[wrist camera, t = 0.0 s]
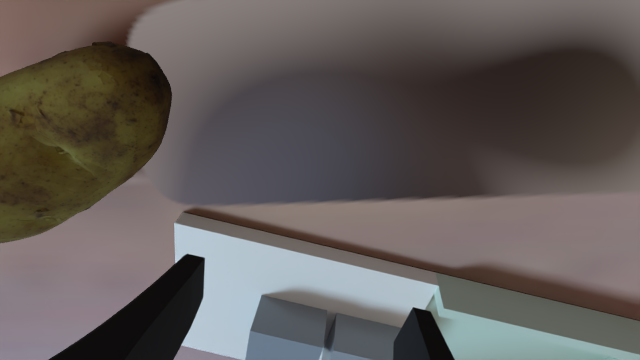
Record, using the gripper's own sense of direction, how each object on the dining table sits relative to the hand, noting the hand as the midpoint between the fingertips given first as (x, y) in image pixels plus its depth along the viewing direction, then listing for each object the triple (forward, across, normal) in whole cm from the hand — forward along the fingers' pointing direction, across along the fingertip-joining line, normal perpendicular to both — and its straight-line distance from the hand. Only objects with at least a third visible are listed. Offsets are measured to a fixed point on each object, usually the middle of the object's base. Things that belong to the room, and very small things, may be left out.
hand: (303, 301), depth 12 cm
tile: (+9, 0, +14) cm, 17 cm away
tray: (+10, -17, +14) cm, 24 cm away
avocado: (+10, +14, +1) cm, 17 cm away
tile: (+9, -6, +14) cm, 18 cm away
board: (+10, 0, +14) cm, 17 cm away
